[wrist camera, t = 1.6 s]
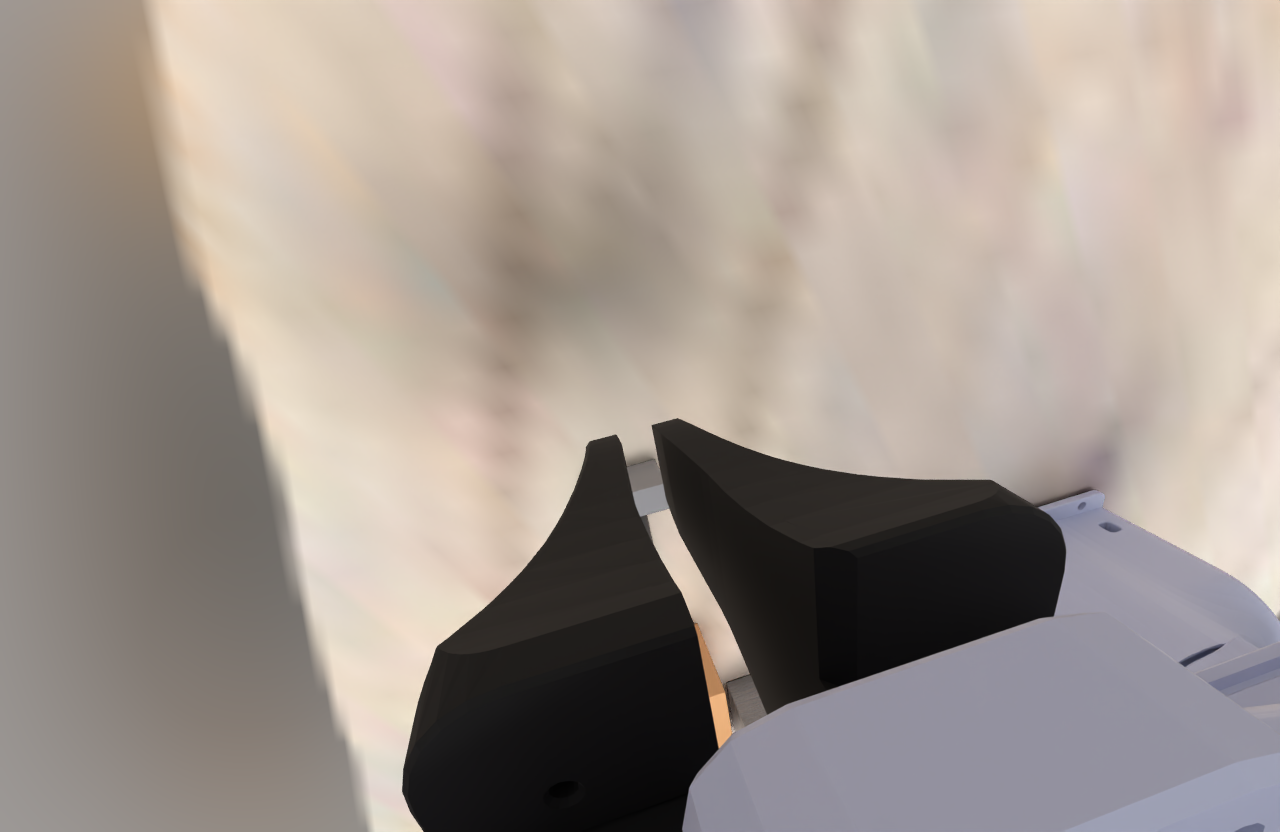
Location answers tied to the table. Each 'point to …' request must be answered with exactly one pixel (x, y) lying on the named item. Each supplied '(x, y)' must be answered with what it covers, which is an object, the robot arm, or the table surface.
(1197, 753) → the robot arm
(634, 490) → the plug
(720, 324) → the table surface
